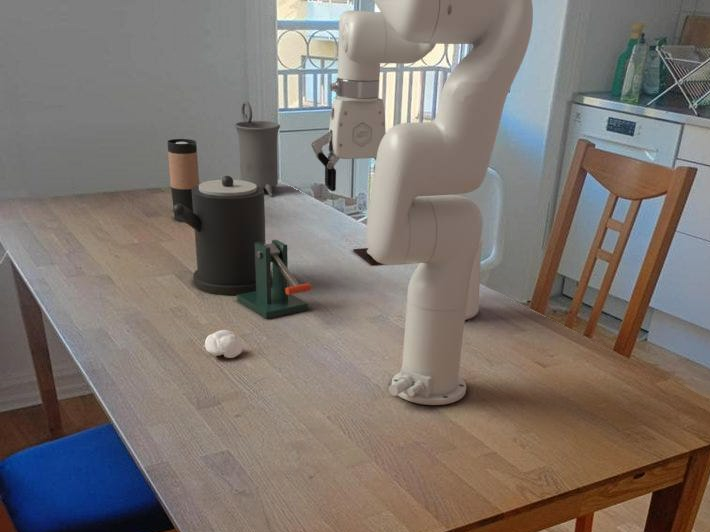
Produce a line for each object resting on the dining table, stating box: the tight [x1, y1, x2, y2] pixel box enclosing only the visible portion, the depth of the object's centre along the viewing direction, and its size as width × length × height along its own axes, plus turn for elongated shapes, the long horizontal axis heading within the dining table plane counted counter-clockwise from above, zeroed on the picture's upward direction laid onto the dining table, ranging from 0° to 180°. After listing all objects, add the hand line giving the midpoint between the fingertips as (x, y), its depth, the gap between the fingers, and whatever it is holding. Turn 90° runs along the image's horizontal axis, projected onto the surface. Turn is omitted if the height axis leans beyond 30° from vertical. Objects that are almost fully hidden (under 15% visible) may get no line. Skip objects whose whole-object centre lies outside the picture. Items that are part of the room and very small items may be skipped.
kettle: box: [172, 175, 267, 296], centre depth 169 cm, size 20×21×23 cm
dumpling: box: [202, 329, 243, 359], centre depth 141 cm, size 7×5×4 cm
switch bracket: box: [236, 239, 309, 320], centre depth 160 cm, size 12×10×13 cm
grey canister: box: [234, 100, 281, 197], centre depth 243 cm, size 19×15×25 cm
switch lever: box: [265, 242, 312, 295], centre depth 156 cm, size 13×5×2 cm, turn 36°
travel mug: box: [167, 138, 200, 223], centre depth 213 cm, size 8×8×20 cm
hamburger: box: [352, 247, 382, 266], centre depth 194 cm, size 12×12×6 cm
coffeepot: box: [465, 238, 484, 321], centre depth 159 cm, size 11×25×19 cm, turn 168°
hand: (354, 188), depth 151 cm, fingers open, 9 cm apart
